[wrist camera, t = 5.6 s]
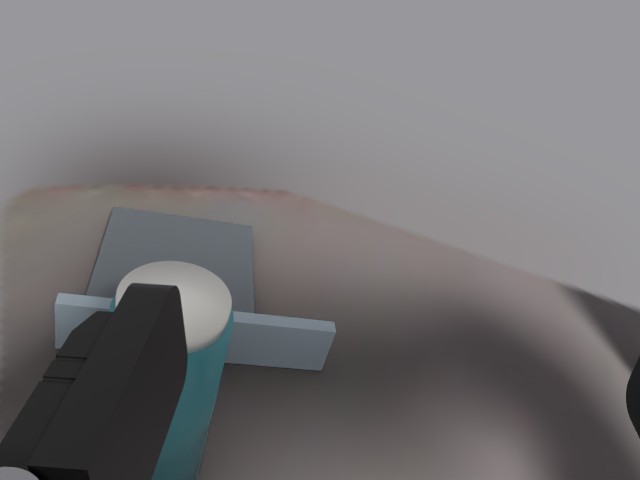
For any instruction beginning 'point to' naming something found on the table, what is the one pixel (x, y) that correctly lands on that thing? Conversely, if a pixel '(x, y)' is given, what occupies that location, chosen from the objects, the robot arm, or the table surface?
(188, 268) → the jar
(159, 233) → the mat
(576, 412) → the table surface
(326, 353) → the wall
